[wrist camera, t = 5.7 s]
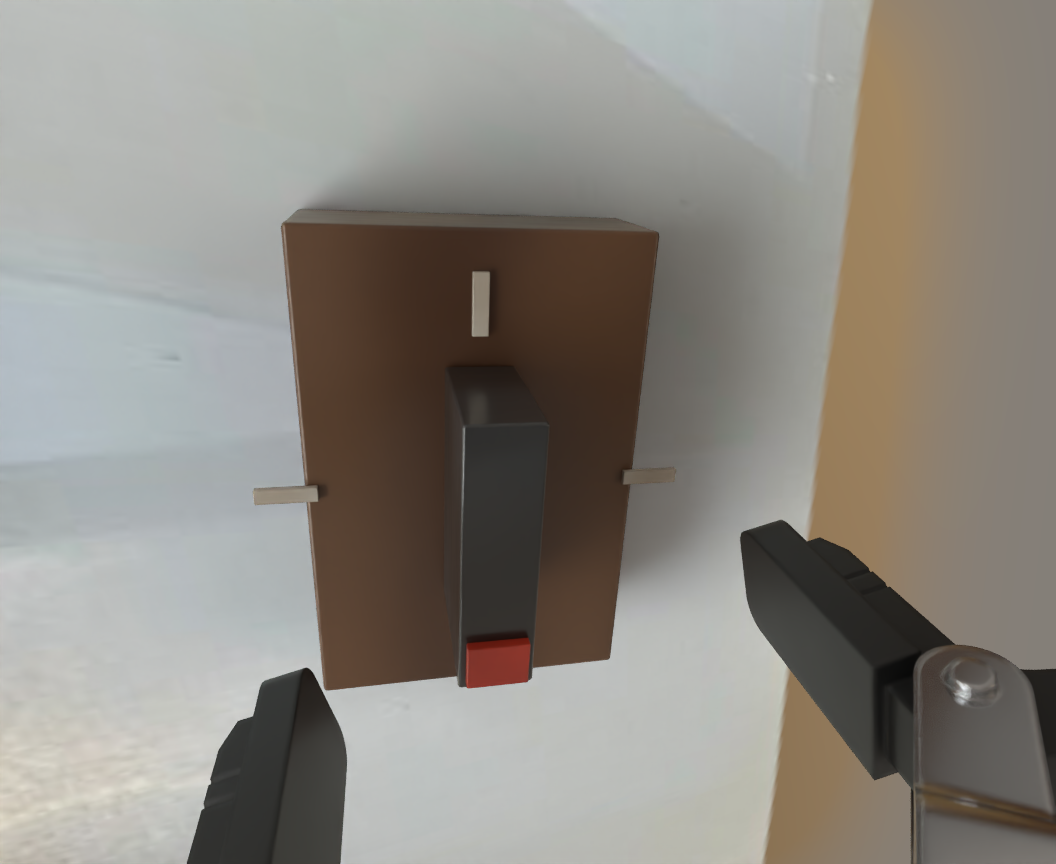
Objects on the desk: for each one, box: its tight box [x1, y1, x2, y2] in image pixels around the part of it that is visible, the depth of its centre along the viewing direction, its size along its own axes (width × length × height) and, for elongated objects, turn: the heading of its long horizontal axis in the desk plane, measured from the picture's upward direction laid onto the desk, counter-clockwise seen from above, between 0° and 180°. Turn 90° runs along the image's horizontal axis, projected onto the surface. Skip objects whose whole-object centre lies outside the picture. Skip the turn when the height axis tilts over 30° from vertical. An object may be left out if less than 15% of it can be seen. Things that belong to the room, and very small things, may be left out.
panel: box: [253, 209, 676, 690], centre depth 18 cm, size 10×12×3 cm
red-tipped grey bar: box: [444, 366, 550, 688], centre depth 15 cm, size 6×2×4 cm, turn 177°
